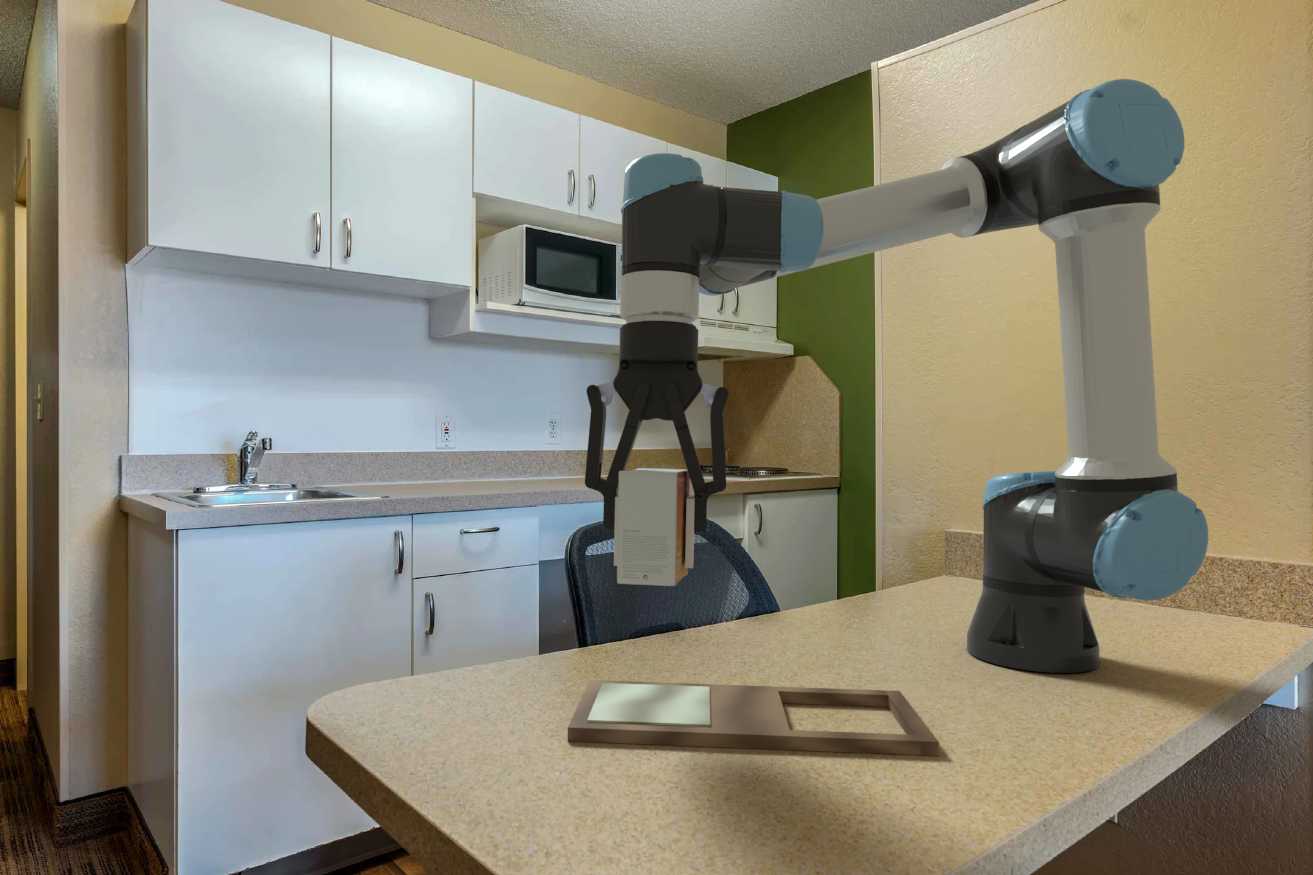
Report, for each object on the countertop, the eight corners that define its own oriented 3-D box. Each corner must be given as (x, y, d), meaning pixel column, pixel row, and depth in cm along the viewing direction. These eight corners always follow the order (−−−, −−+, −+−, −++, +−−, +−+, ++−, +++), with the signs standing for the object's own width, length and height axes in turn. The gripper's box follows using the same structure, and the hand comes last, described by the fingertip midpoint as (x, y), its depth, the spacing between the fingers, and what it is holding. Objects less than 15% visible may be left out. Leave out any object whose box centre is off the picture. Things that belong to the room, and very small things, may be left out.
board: (899, 702, 84) (899, 688, 84) (938, 755, 70) (938, 739, 70) (589, 691, 86) (589, 677, 86) (567, 740, 72) (567, 725, 72)
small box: (675, 588, 74) (677, 471, 74) (615, 584, 75) (617, 470, 75) (689, 573, 82) (691, 468, 82) (634, 571, 83) (636, 467, 83)
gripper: (756, 329, 81) (751, 561, 81) (567, 327, 82) (562, 556, 83) (761, 319, 74) (756, 574, 74) (553, 316, 75) (548, 568, 75)
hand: (654, 564), depth 78 cm, fingers closed on small box, 6 cm apart
